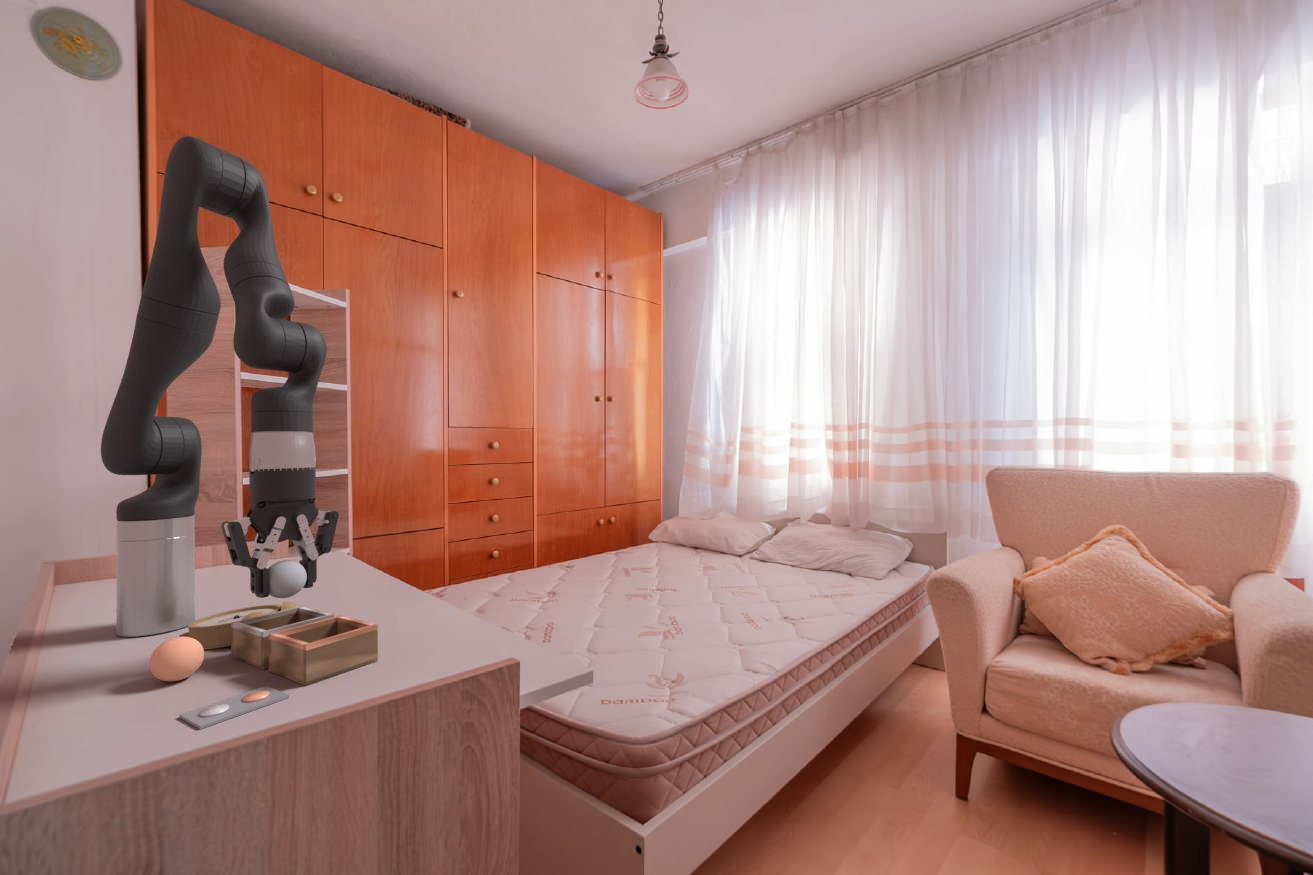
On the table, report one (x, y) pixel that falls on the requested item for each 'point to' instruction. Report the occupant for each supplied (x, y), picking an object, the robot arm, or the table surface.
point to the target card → (232, 707)
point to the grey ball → (286, 578)
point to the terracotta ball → (176, 659)
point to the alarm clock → (227, 624)
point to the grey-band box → (267, 633)
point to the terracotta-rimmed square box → (322, 649)
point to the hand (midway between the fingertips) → (284, 591)
